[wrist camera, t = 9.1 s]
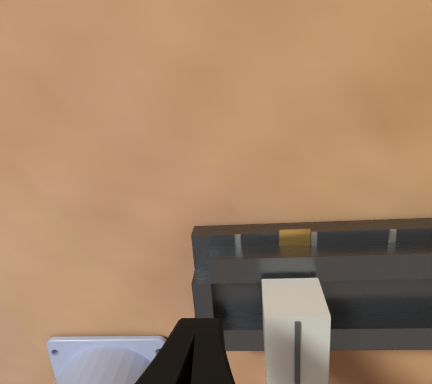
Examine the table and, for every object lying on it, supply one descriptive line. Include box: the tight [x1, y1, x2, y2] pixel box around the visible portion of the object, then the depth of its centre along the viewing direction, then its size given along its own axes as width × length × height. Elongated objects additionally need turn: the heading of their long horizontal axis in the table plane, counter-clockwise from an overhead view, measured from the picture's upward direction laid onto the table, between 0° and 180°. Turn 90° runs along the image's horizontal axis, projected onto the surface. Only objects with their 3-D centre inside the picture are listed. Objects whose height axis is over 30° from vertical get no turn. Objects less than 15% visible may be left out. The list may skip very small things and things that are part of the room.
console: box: [191, 218, 432, 351], centre depth 21 cm, size 8×21×3 cm, turn 94°
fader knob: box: [262, 278, 331, 384], centre depth 19 cm, size 4×3×5 cm
